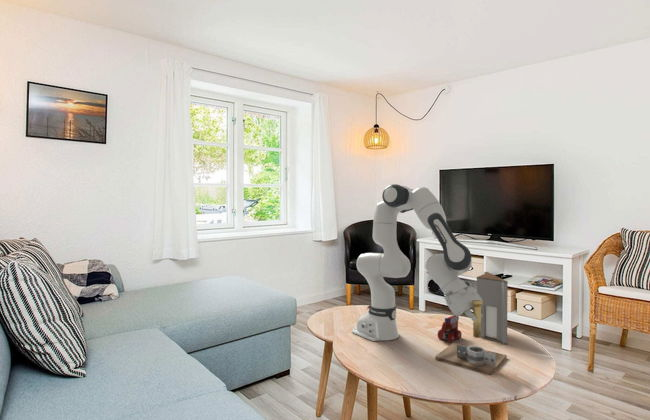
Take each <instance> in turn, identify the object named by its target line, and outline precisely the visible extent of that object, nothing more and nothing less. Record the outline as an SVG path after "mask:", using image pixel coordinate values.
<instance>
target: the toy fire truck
mask: <svg viewBox="0 0 650 420" xmlns="http://www.w3.org/2000/svg"><path fill="white" fill-rule="evenodd" d="M459 316H460V315H459ZM459 316H456V315H454V314H453V315H450V316H449V317H445V318H444V321H443V322H442V325H441V329H439V330H438V331H437V338H438V339H440V340H447V341H448V342H449V343H454V342H455V339H456V340H460V339H461V338H462V331H461V330H459V319H460V318H459Z"/></svg>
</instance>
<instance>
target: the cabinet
mask: <svg viewBox="0 0 650 420" xmlns="http://www.w3.org/2000/svg"><path fill="white" fill-rule="evenodd" d="M508 284H509V283H508V281H507V280H505V279H503V278H501V277H499V276H497V275H495V274H493V273H491V272H489V271H484V273H483V274H481V275H479V276H476V292H477V293H478V294H479V296H480V297H481V298H482V301H483V305H481V314H482V315H483V317H481V339H485V340H489V341H494V342H499V343H500V344H502V345H508V293H509V292H508V291H509V290H508Z"/></svg>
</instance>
